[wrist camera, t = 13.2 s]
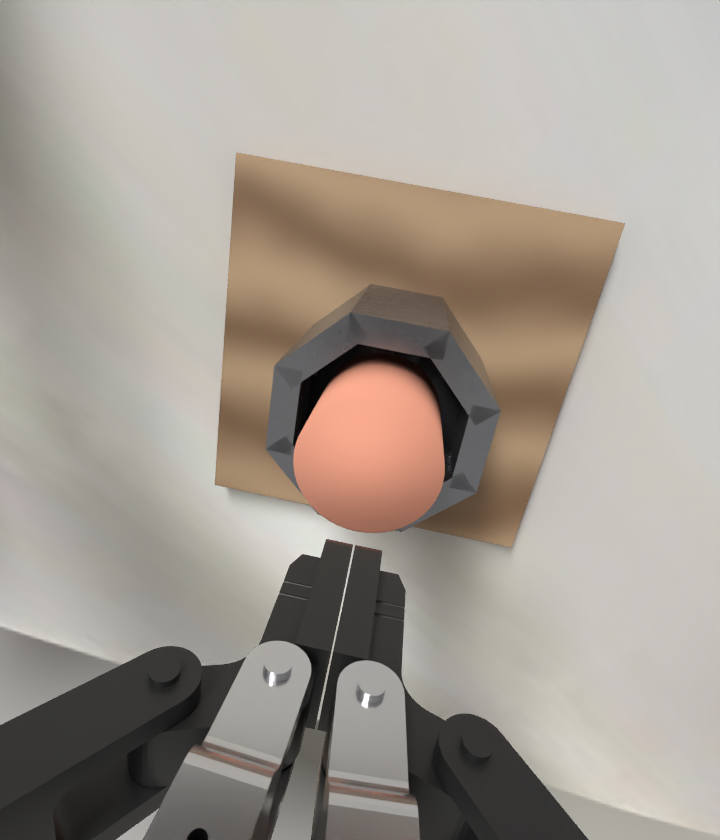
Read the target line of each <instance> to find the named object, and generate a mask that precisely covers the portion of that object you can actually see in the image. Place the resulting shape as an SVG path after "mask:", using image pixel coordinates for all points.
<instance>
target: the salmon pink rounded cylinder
mask: <svg viewBox="0 0 720 840" xmlns="http://www.w3.org/2000/svg"><path fill="white" fill-rule="evenodd" d="M293 465H294V473H295V477H296V481H297V483H298V486H299V488H300V490H301V492H302V494H303V496H304V497H305V499H306V500H307V501H308V503H309V504H310V505H311V506H312V507H313V508H314V509H315V510H316V511H317V512H318V513H319V514H320V515H322V516H323V517H325V518H326V519H328V520H329V521H331V522H333V523H335V524H336V525H339V526H341V527H344V528H346V529H350V530H354V531H359V532H366V533H379V532H387V531H393V530H396V529H399V528H402V527H404V526H407V525H409V524H411V523H412V522H414V521H416V520H417V519H419V518H420V517H421V516H422V515H424V514H425V513H426V512H427V511H428V510H429V509H430V508H431V506H432V505H433V503H434V502H435V501H436V499H437V497H438V495H439V493H440V491H441V488H442V485H443V481H444V475H445V462H444V449H443V436H442V423H441V410H440V400H439V396H438V393H437V390H436V388H435V385H434V384H433V382H432V380H431V379H430V377H429V376H428V375H427V374H426V373H425V372H424V371H423V370H422V369H421V368H420V367H419V366H418V365H416V364H415V363H413V362H412V361H410V360H408V359H406V358H403V357H401V356H398V355H394V354H389V353H371V354H366V355H362V356H359V357H356V358H354V359H352V360H350V361H349V362H347V363H345V364H344V365H343V366H342V367H340V368H339V369H338V370H337V371H336V372H335V374H334V375H333V376H332V378H331V379H330V381H329V383H328V385H327V386H326V388H325V390H324V392H323V393H322V395H321V397H320V399H319V401H318V402H317V404H316V406H315V408H314V409H313V411H312V413H311V415H310V417H309V418H308V420H307V422H306V424H305V426H304V427H303V429H302V431H301V433H300V435H299V436H298V439H297V442H296V445H295V450H294V457H293Z"/></svg>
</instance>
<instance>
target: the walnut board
mask: <svg viewBox="0 0 720 840" xmlns="http://www.w3.org/2000/svg"><path fill="white" fill-rule="evenodd" d="M624 225H625V223H620V222H615V221H609V220H604V219H598V218H593V217H587V216H582V215H576V214H571V213H565V212H560V211H554V210H549V209H543V208H538V207H532V206H527V205H521V204H516V203H510V202H505V201H499V200H494V199H488V198H483V197H477V196H472V195H466V194H461V193H455V192H450V191H444V190H439V189H433V188H428V187H422V186H417V185H411V184H406V183H400V182H395V181H389V180H384V179H378V178H373V177H367V176H362V175H356V174H351V173H345V172H340V171H334V170H329V169H323V168H318V167H312V166H307V165H301V164H296V163H290V162H285V161H279V160H274V159H268V158H263V157H257V156H252V155H246V154H241V153H236V164H235V180H234V195H233V211H232V226H231V242H230V257H229V273H228V288H227V304H226V319H225V335H224V350H223V366H222V381H221V397H220V413H219V428H218V444H217V459H216V475H215V485H218V486H223V487H228V488H232V489H237V490H242V491H247V492H251V493H256V494H261V495H266V496H270V497H275V498H280V499H285V500H289V501H294V502H299V503H304V504H308V505H310V504H309V503H308V501H307V500H306V499H305V498H304V496H303V495H302V494H301V493H300V491H299V490H298V489H297V488H296V487H295V485H294V484H293V483H292V482H291V480H290V479H289V478H288V477H287V475H286V474H285V473H284V472H283V471H282V469H281V468H280V467H279V466H278V464H277V463H276V462H275V461H274V459H273V458H272V457H271V456H270V454H269V453H268V452H267V451H266V450H265V448H266V439H267V429H268V420H269V410H270V401H271V392H272V382H273V373H274V365H275V364H276V363H277V362H278V361H279V360H280V359H281V358H282V357H283V356H284V355H285V354H286V353H287V352H288V351H289V350H290V349H291V348H292V347H293V346H294V345H295V343H296V342H297V341H298V340H299V339H300V338H301V337H302V336H303V335H304V334H305V333H306V332H307V331H308V330H309V329H310V328H311V327H312V326H313V325H314V324H315V323H317V322H318V321H319V320H321V319H322V318H324V317H325V316H326V315H328V314H329V313H331V312H332V311H333V310H335V309H336V308H338V307H339V306H340V305H342V304H343V303H345V302H346V301H348V300H349V299H350V298H352V297H353V296H355V295H356V294H357V293H359V292H360V291H362V290H363V289H364V288H366V287H367V286H369V285H370V284H375V285H381V286H386V287H391V288H396V289H401V290H407V291H412V292H417V293H422V294H428V295H433V296H438V297H443V299H444V300H445V302H446V303H447V305H448V307H449V308H450V310H451V311H452V313H453V314H454V316H455V317H456V319H457V321H458V322H459V324H460V325H461V327H462V328H463V330H464V332H465V333H466V335H467V336H468V338H469V339H470V341H471V343H472V344H473V346H474V347H475V349H476V350H477V352H478V354H479V355H480V357H481V359H482V362H483V364H484V367H485V370H486V372H487V375H488V378H489V380H490V383H491V385H492V388H493V391H494V393H495V396H496V399H497V401H498V404H499V406H500V409H501V413H500V416H499V419H498V423H497V426H496V429H495V433H494V436H493V439H492V443H491V446H490V449H489V453H488V456H487V459H486V463H485V466H484V469H483V473H482V476H481V479H480V483H479V486H478V489H477V493H475V494H473V495H471V496H470V497H468V498H466V499H464V500H462V501H460V502H458V503H456V504H454V505H452V506H450V507H448V508H446V509H444V510H443V511H441V512H439V513H437V514H435V515H433V516H431V517H429V518H427V519H425V520H423V521H421V522H419V523H417V524H415V525H414V526H413V527H418V528H422V529H427V530H432V531H437V532H441V533H446V534H451V535H456V536H460V537H465V538H470V539H475V540H479V541H484V542H489V543H494V544H498V545H503V546H508V547H512V545H513V542H514V539H515V537H516V534H517V531H518V528H519V525H520V522H521V519H522V517H523V514H524V511H525V508H526V505H527V502H528V499H529V497H530V494H531V491H532V488H533V485H534V482H535V479H536V477H537V474H538V471H539V468H540V465H541V462H542V459H543V457H544V454H545V451H546V448H547V445H548V442H549V439H550V437H551V434H552V431H553V428H554V425H555V422H556V419H557V417H558V414H559V411H560V408H561V405H562V402H563V399H564V397H565V394H566V391H567V388H568V385H569V382H570V380H571V377H572V374H573V371H574V368H575V365H576V362H577V360H578V357H579V354H580V351H581V348H582V345H583V342H584V340H585V337H586V334H587V331H588V328H589V325H590V322H591V320H592V317H593V314H594V311H595V308H596V305H597V302H598V300H599V297H600V294H601V291H602V288H603V285H604V282H605V280H606V277H607V274H608V271H609V268H610V265H611V262H612V260H613V257H614V254H615V251H616V248H617V245H618V242H619V240H620V237H621V234H622V231H623V228H624Z"/></svg>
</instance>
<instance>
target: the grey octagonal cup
mask: <svg viewBox="0 0 720 840" xmlns="http://www.w3.org/2000/svg"><path fill="white" fill-rule="evenodd" d="M371 353H389V354H394V355H398V356H401V357H403V358H406V359H408V360H410V361H412V362H413V363H415V364H416V365H418V366H419V367H420V368H421V369H422V370H423V371H424V372H425V373H426V374H427V375H428V376H429V377H430V379H431V380H432V382H433V384H434V385H435V388H436V390H437V393H438V396H439V400H440V410H441V423H442V436H443V449H444V462H445V475H444V481H443V485H442V488H441V491H440V493H439V495H438V497H437V499H436V501H435V502H434V503H433V505H432V506H431V508H430V509H429V510H428V511H427V512H426V513H425V514H424V515H422V516H421V517H420V518H419V519H417V520H416V521H414V522H412V523H411V524H409V525H407V526H404V527H402V528H399V529H396V530H395V531H400V532H402V531H404V530H406V529H408V528H410V527H412V526H414V525H415V524H417V523H419V522H421V521H423V520H425V519H427V518H429V517H431V516H433V515H435V514H437V513H439V512H441V511H443V510H444V509H446V508H448V507H450V506H452V505H454V504H456V503H458V502H460V501H462V500H464V499H466V498H468V497H470V496H471V495H473V494H475V493H477V489H478V486H479V483H480V479H481V476H482V473H483V469H484V466H485V463H486V459H487V456H488V453H489V449H490V446H491V443H492V439H493V436H494V433H495V429H496V426H497V423H498V419H499V416H500V413H501V409H500V406H499V404H498V401H497V399H496V396H495V393H494V391H493V388H492V385H491V383H490V380H489V378H488V375H487V372H486V370H485V367H484V364H483V362H482V359H481V357H480V355H479V354H478V352H477V350H476V349H475V347H474V346H473V344H472V343H471V341H470V339H469V338H468V336H467V335H466V333H465V332H464V330H463V328H462V327H461V325H460V324H459V322H458V321H457V319H456V317H455V316H454V314H453V313H452V311H451V310H450V308H449V307H448V305H447V303H446V302H445V300H444V299H443V297H438V296H433V295H428V294H422V293H417V292H412V291H407V290H401V289H396V288H391V287H386V286H381V285H375V284H370V285H369V286H367V287H366V288H364V289H363V290H362V291H360V292H359V293H357V294H356V295H355V296H353V297H352V298H350V299H349V300H348V301H346V302H345V303H343V304H342V305H340V306H339V307H338V308H336V309H335V310H333V311H332V312H331V313H329V314H328V315H326V316H325V317H324V318H322V319H321V320H319V321H318V322H317V323H315V324H314V325H313V326H312V327H311V328H310V329H309V330H308V331H307V332H306V333H305V334H304V335H303V336H302V337H301V338H300V339H299V340H298V341H297V342H296V343H295V345H294V346H293V347H292V348H291V349H290V350H289V351H288V352H287V353H286V354H285V355H284V356H283V357H282V358H281V359H280V360H279V361H278V362H277V363H276V364H275V365H274V373H273V382H272V392H271V401H270V410H269V420H268V429H267V439H266V448H265V450H266V451H267V452H268V453H269V454H270V456H271V457H272V458H273V459H274V461H275V462H276V463H277V464H278V466H279V467H280V468H281V469H282V471H283V472H284V473H285V474H286V475H287V477H288V478H289V479H290V480H291V482H292V483H293V484H294V485H295V487H296V488H297V489H298V490H299V491H300V493H301V494H302V492H301V490H300V488H299V486H298V483H297V481H296V477H295V473H294V465H293V457H294V450H295V445H296V442H297V439H298V436H299V435H300V433H301V431H302V429H303V427H304V426H305V424H306V422H307V420H308V418H309V417H310V415H311V413H312V411H313V409H314V408H315V406H316V404H317V402H318V401H319V399H320V397H321V395H322V393H323V392H324V390H325V388H326V386H327V385H328V383H329V381H330V379H331V378H332V376H333V375H334V374H335V372H336V371H337V370H338V369H339V368H340V367H342V366H343V365H344V364H345V363H347V362H349V361H350V360H352V359H354V358H356V357H359V356H362V355H366V354H371ZM302 495H303V494H302ZM304 498H305V497H304ZM312 508H313V507H312ZM313 509H314V508H313ZM314 510H315V509H314ZM315 511H316V510H315ZM316 512H317V511H316ZM317 514H319V513H318V512H317ZM319 515H320V514H319Z"/></svg>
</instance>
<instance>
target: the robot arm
mask: <svg viewBox="0 0 720 840" xmlns="http://www.w3.org/2000/svg"><path fill="white" fill-rule="evenodd" d="M352 547H353V545H352V544H347V543H343V542H338V541H333V540H329V539H326V542H325V545H324V548H323V552H322V555H321V558H318V557H313V556H309V555H304V554H302V555H301V556H300V557H299V558H298V559H296V560H295V561H294V562H293V563H292V564H291V565H290V566H289V569H288V571H287V574H286V577H285V579H284V583H283V585H282V587H281V590H280V593H279V595H278V598H277V600H276V603H275V606H274V608H273V611H272V613H271V616H270V619H269V621H268V624H267V626H266V629H265V632H264V634H263V637H262V640H261V642H260V644H259V645H258V646H257V647H255V648H254V649H253V650H252V651H251V652H250V653H249V654H248V655H247V657H245V658H244V659H242V660H239V661H237V662H234V663H230V664H224V665H211V666H201V663H200V661H199V659H198V658H197V656H196V655H195V654H194V653H192V652H191V651H189V650H187V649H185V648H181V647H175V646H166V647H160V648H157V649H153V650H151V651H149V652H147V653H145V654H143V655H141V656H139V657H137V658H135V659H133V660H131V661H129V662H127V663H125V664H123V665H121V666H119V667H116V668H115V669H112V670H110V671H109V672H106V673H105V674H102V675H100V676H98V677H96V678H95V679H92V680H90V681H88V682H86V683H85V684H82V685H80V686H78V687H77V688H74V689H72V690H71V691H68V692H66V693H65V694H62V695H60V696H58V697H56V698H54V699H52V700H50V701H48V702H47V703H44V704H42V705H40V706H38V707H36V708H34V709H32V710H30V711H28V712H26V713H24V714H22V715H20V716H18V717H16V718H14V719H12V720H10V721H8V722H6V723H4V724H2V725H0V840H116V839H117V838H118V837H120V836H121V835H122V834H124V833H125V832H127V831H128V830H129V829H131V828H132V827H134V826H135V825H136V824H138V823H139V822H140V821H142V820H143V819H144V818H146V817H147V816H149V815H150V814H151V813H153V812H154V811H156V810H157V809H158V808H159V809H158V811H157V813H156V815H155V817H154V819H153V821H152V823H151V824H150V826H149V828H148V830H147V832H146V834H145V836H144V838H143V840H271V837H272V834H273V831H274V828H275V825H276V821H277V818H278V815H279V812H280V809H281V806H282V802H283V799H284V796H285V793H286V790H287V786H288V783H289V780H290V777H291V774H292V771H293V767H294V764H295V759H296V757H297V755H298V753H299V751H300V748H301V744H302V740H303V736H304V731H305V727H307V728H312V729H315V725H316V720H317V715H318V711H319V706H320V701H321V697H322V692H323V687H324V682H325V678H326V673H327V668H328V664H329V659H330V654H331V650H332V645H333V640H334V635H335V631H336V626H337V621H338V617H339V612H340V607H341V602H342V597H343V593H344V588H345V583H346V578H347V572H348V567H349V562H350V557H351V552H352ZM381 556H382V551H381V550H376V549H371V548H367V547H362V546H357V545H355V550H354V554H353V559H352V564H351V569H350V574H349V578H348V583H347V588H346V593H345V598H344V602H343V607H342V612H341V617H340V622H339V627H338V631H337V636H336V641H335V646H334V651H333V656H332V660H331V665H330V670H329V675H328V680H327V685H326V690H325V695H324V700H323V705H322V710H321V715H320V720H319V726H318V730H322V731H326V737H325V742H324V747H323V753H322V758H321V762H320V767H319V773H318V782H317V790H316V799H315V808H314V816H313V825H312V834H311V840H588V839H587V837H586V836H585V835H584V834H583V832H582V831H581V830H580V829H579V828H578V826H577V825H576V824H575V823H574V822H573V820H572V819H571V818H570V817H569V815H568V814H567V813H566V812H565V811H564V809H563V808H562V807H561V806H560V804H559V803H558V802H557V801H556V800H555V798H554V797H553V796H552V795H551V794H550V792H549V791H548V790H547V789H546V787H545V786H544V785H543V784H542V782H541V781H540V780H539V779H538V778H537V776H536V775H535V774H534V773H533V771H532V770H531V769H530V768H529V767H528V765H527V764H526V763H525V762H524V760H523V759H522V758H521V757H520V756H519V754H518V753H517V752H516V751H515V749H514V748H513V747H512V746H511V745H510V743H509V742H508V741H507V740H506V738H505V737H504V736H503V735H502V734H501V732H500V731H499V730H498V729H497V728H496V727H495V726H493V725H492V724H491V723H490V722H488V721H487V720H485V719H483V718H481V717H478V716H475V715H472V714H457V715H454V716H451V717H450V718H448V719H447V720H446V721H445V720H443V719H441V718H439V717H438V716H436V715H434V714H432V713H430V712H429V711H427V710H425V709H424V708H422V707H421V706H420V705H419V704H417V703H416V702H415V701H414V700H413V699H412V697H411V696H410V695H409V693H408V692H407V690H406V688H405V686H404V684H403V680H402V675H401V668H402V648H403V629H404V607H405V588H404V586H403V584H402V582H401V580H400V577H399V575H398V574H393V573H388V572H384V571H380V564H381Z"/></svg>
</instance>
